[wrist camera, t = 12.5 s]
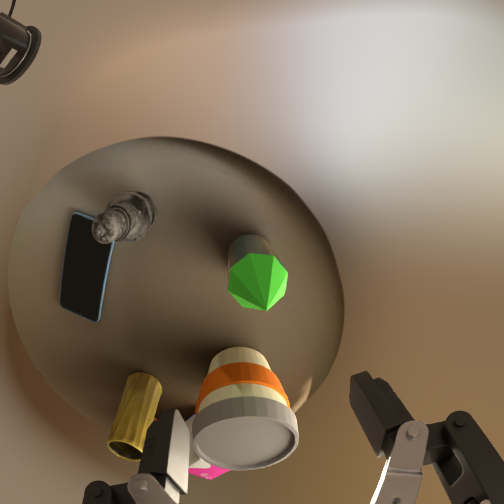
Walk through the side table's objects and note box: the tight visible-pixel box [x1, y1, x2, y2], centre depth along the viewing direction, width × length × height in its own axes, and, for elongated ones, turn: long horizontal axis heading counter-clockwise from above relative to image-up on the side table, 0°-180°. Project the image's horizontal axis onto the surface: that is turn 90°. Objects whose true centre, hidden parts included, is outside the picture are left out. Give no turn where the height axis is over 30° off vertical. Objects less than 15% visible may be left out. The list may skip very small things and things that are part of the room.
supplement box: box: [185, 412, 229, 480], centre depth 38 cm, size 6×6×12 cm
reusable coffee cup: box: [192, 347, 299, 470], centre depth 33 cm, size 13×13×15 cm
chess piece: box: [92, 191, 157, 244], centre depth 27 cm, size 6×6×12 cm
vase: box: [107, 372, 162, 461], centre depth 33 cm, size 6×6×14 cm
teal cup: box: [228, 234, 287, 289], centre depth 31 cm, size 6×6×9 cm
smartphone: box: [59, 212, 115, 322], centre depth 34 cm, size 7×1×15 cm
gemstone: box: [228, 253, 288, 311], centre depth 24 cm, size 6×6×6 cm
